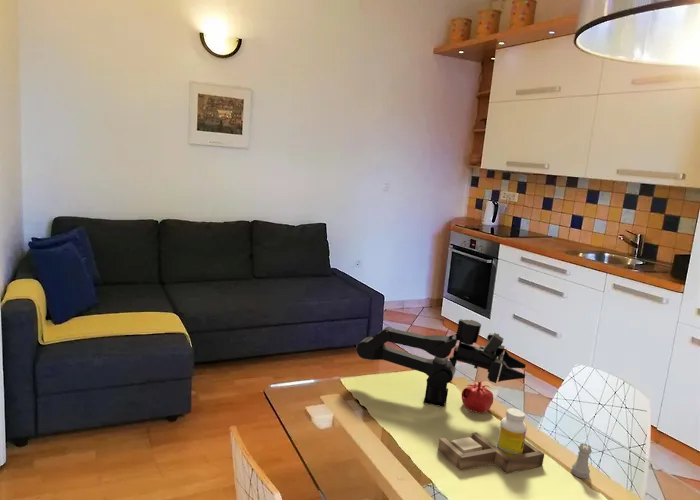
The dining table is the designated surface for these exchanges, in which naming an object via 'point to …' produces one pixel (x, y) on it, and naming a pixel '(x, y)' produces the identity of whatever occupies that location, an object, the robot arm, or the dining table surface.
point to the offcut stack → (466, 445)
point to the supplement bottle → (512, 433)
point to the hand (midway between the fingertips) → (525, 371)
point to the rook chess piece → (582, 462)
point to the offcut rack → (491, 456)
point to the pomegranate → (477, 397)
